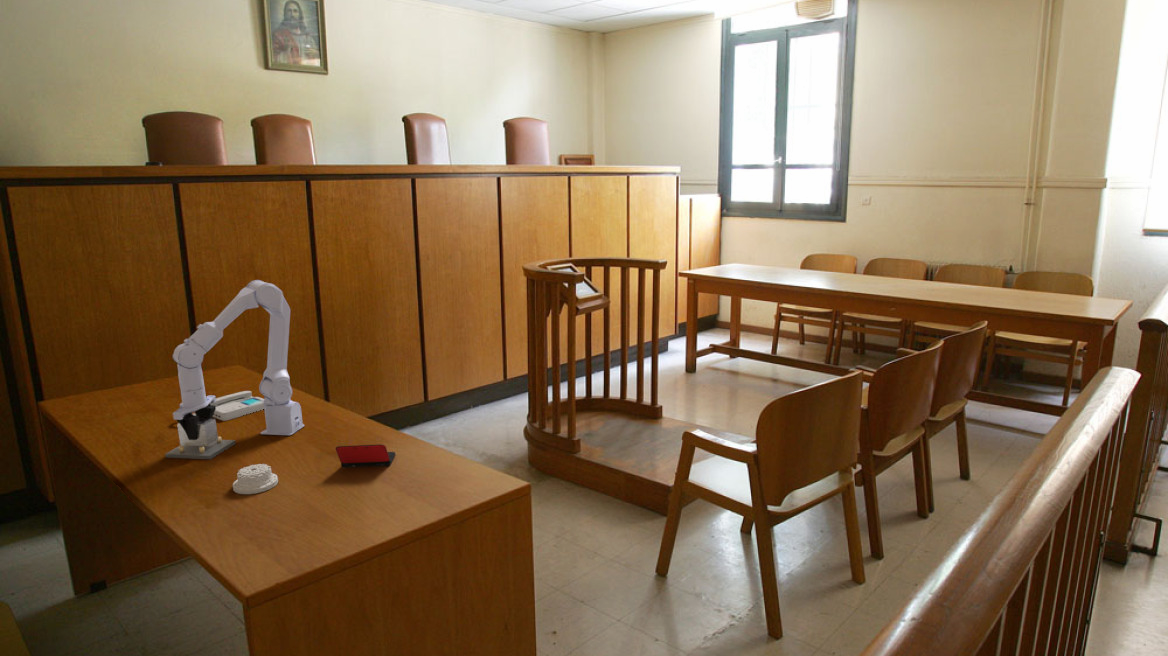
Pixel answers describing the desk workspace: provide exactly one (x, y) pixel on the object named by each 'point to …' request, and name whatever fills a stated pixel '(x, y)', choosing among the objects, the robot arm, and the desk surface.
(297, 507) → the desk surface
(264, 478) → the mechanical component
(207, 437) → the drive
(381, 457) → the handheld game console
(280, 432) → the robot arm
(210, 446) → the tray
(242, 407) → the intercom
